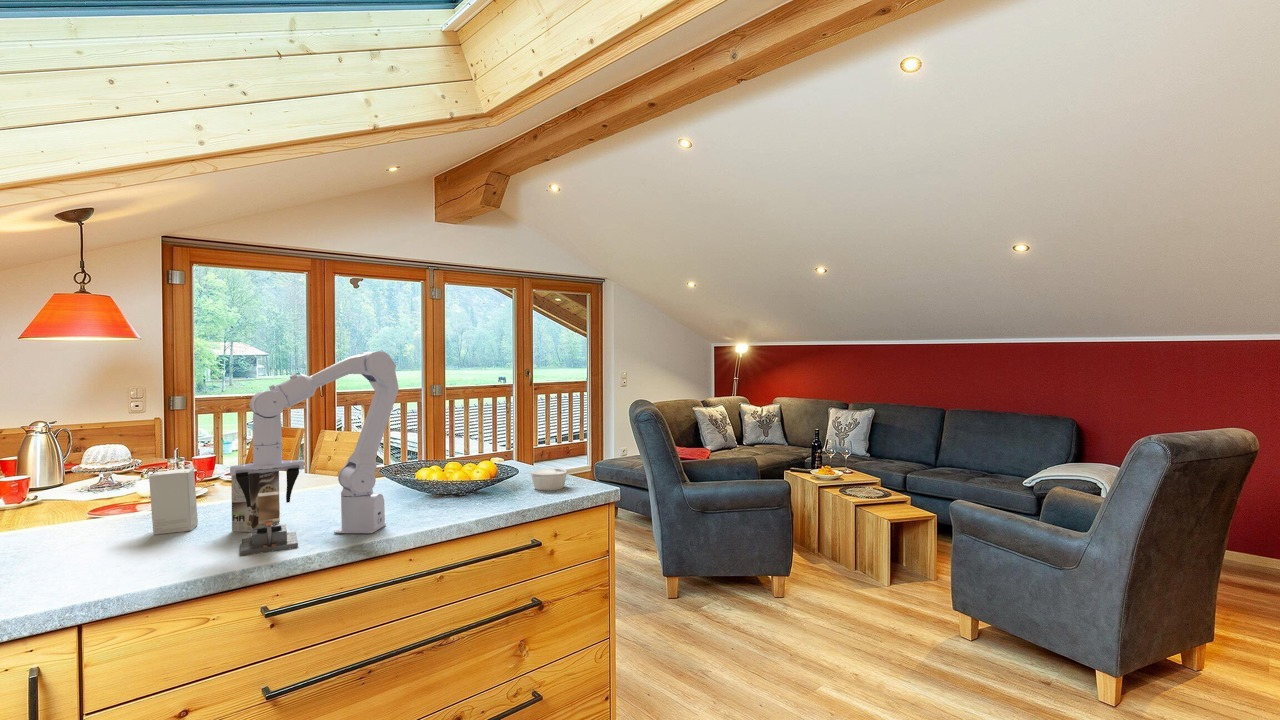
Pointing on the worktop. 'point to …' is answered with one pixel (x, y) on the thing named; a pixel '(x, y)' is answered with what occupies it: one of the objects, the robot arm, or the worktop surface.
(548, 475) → the ramekin
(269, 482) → the coffee box
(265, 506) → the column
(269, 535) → the sleeve stand
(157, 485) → the skincare box
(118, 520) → the worktop surface
